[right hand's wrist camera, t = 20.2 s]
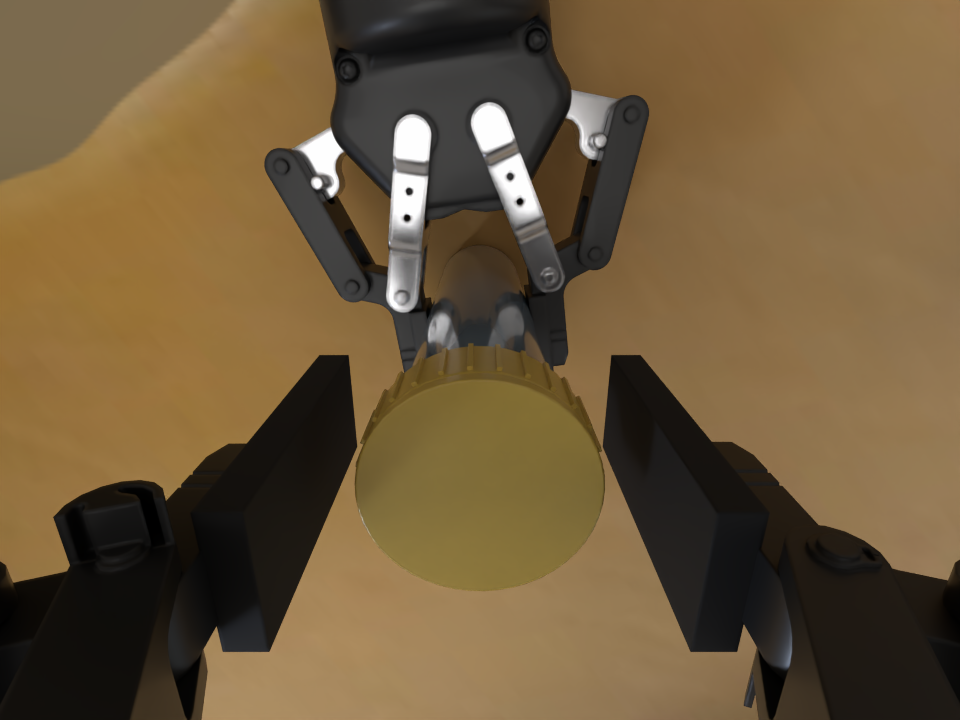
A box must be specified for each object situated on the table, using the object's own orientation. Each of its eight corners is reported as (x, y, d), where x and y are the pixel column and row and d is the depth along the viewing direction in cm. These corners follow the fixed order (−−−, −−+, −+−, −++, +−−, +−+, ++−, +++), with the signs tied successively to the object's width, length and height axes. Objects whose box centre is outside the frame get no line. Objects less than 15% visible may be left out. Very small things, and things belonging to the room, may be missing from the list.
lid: (336, 484, 12) (311, 538, 11) (429, 300, 11) (419, 328, 9) (521, 563, 13) (528, 626, 11) (633, 404, 12) (660, 447, 10)
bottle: (506, 328, 28) (543, 564, 12) (433, 310, 28) (367, 527, 12) (527, 256, 27) (603, 408, 10) (451, 236, 27) (405, 360, 10)
